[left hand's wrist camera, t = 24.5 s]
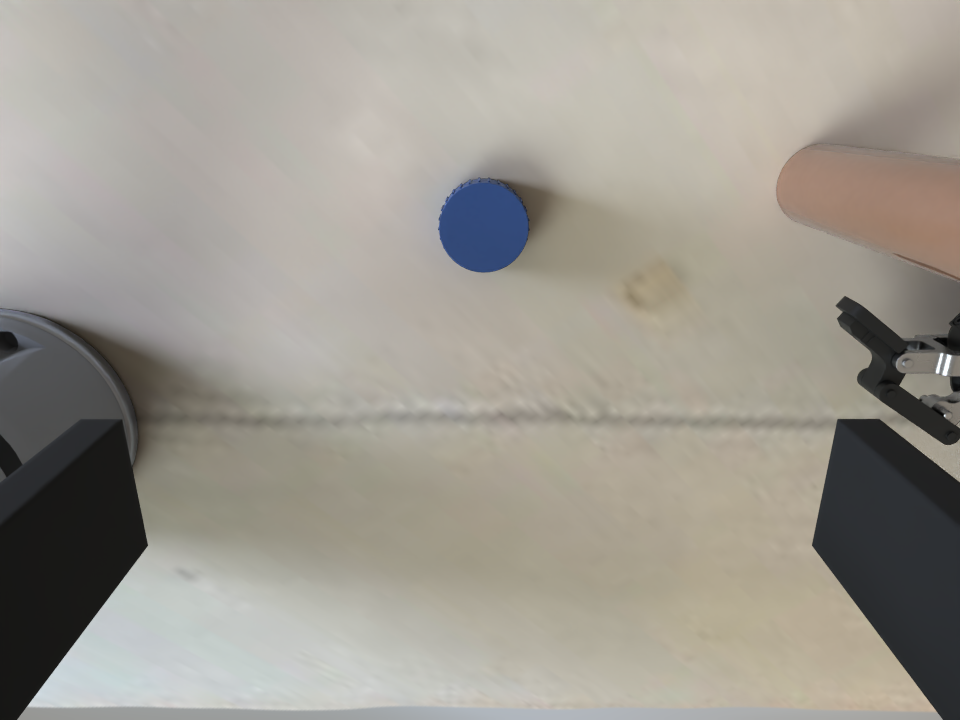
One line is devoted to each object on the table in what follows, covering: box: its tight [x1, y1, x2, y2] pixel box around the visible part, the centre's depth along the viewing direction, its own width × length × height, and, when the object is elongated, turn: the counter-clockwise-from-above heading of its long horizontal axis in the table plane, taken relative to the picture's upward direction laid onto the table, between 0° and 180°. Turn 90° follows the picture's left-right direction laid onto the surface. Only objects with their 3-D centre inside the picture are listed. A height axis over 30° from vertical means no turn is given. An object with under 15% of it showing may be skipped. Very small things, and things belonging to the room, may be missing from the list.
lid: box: [438, 178, 529, 272], centre depth 40 cm, size 5×5×2 cm
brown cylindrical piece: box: [776, 144, 960, 283], centre depth 31 cm, size 5×5×20 cm
